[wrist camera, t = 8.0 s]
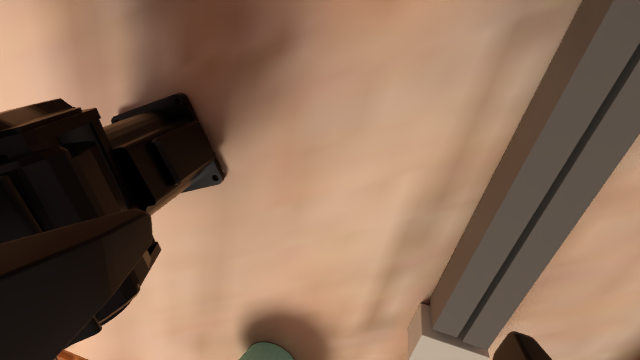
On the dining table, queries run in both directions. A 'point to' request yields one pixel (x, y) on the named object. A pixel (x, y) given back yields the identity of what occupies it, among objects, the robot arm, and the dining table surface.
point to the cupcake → (266, 352)
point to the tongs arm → (538, 152)
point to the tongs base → (542, 227)
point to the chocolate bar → (68, 356)
